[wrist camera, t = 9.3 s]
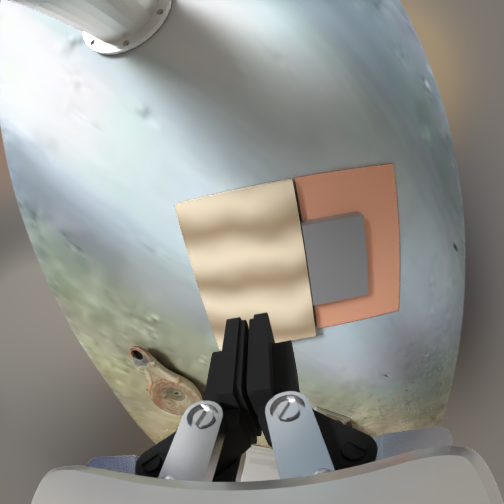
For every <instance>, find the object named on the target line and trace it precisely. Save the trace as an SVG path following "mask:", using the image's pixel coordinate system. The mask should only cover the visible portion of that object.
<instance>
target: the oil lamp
mask: <svg viewBox="0 0 504 504" xmlns="http://www.w3.org/2000/svg"><path fill="white" fill-rule="evenodd" d="M129 356H130V359H131V360H132V361H133V362H134V363H135V364H136V365H137V366H139V369H140V370H143V371H144V373H145V375H146V378H147V381H148V386H147V387H146V390H147V391H149V394H150V397H151V399H152V401H153V402H154V403H155V404H156V405H157V406H158V407H159V408H161V409H162V410H164V411H166V412H169V413H172V414H176V415H183V414H184V413H185V411H186V410H187V409H188V408H189V407H190V406H191V405H193V404H194V403H197V402H200V401H202V396H201V393H200V392H199V390H198V389H197V387H196V386H195V385H194V384H193V383H192V382H191V381H190V380H188V379H186V378H185V377H183V376H181V375H178V374H176V373H174V372H172V371H170V370H169V369H167V368H166V367H164V366H163V365H162V364H161V363H159V362H158V361H157V360H156V359H155V358H154V357H153V356H152V355H151V354H150V353H149V352H148V351H147V350H146V349H144V348H142V347H139V346H131V348H130V349H129ZM177 429H178V428H177Z"/></svg>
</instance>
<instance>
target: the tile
mask: <svg viewBox="0 0 504 504" xmlns="http://www.w3.org/2000/svg"><path fill="white" fill-rule="evenodd" d="M300 225H301V231H302V238H303V244H304V250H305V257H306V263H307V270H308V277H309V284H310V291H311V298H312V302H313V305H319V304H324V303H329V302H334V301H339V300H344V299H349V298H354V297H358V296H363V295H367V294H368V270H367V252H366V238H365V226H364V215H363V214H361V213H360V212H359V211H356V212H350V213H344V214H338V215H333V216H327V217H321V218H316V219H310V220H305V221H300Z"/></svg>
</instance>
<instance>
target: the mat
mask: <svg viewBox="0 0 504 504" xmlns="http://www.w3.org/2000/svg"><path fill="white" fill-rule="evenodd" d="M294 179H295V184H296V190H297V195H298V201H299V206H300V212H301V218H302V221H305V220H310V219H316V218H321V217H327V216H333V215H338V214H344V213H350V212H356V211H359V212H360V213H361V214H363V215H364V226H365V238H366V252H367V270H368V294H367V295H363V296H358V297H354V298H349V299H344V300H339V301H334V302H329V303H324V304H319V305H314V307H315V315H316V324H317V328H322V327H327V326H332V325H337V324H342V323H347V322H351V321H356V320H360V319H365V318H369V317H373V316H377V315H381V314H385V313H389V312H393V311H397V310H398V308H399V285H400V243H399V219H398V204H397V192H396V182H395V173H394V165H393V164H384V165H375V166H367V167H360V168H352V169H345V170H339V171H332V172H326V173H319V174H313V175H307V176H301V177H295V178H294Z"/></svg>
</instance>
